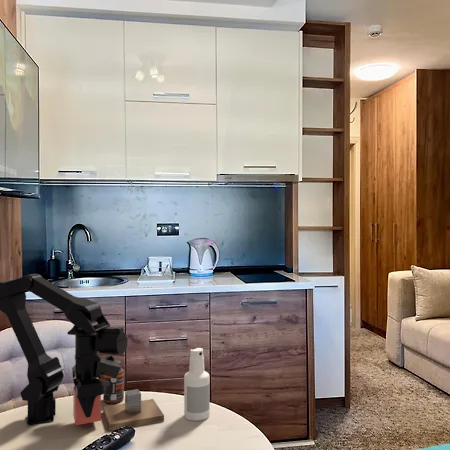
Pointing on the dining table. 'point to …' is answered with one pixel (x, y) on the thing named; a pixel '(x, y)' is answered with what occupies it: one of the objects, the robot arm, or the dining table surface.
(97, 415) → the salmon foam cube
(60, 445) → the dining table surface
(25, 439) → the dining table surface
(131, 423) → the board
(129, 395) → the post
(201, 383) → the spray bottle
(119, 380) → the supplement bottle
